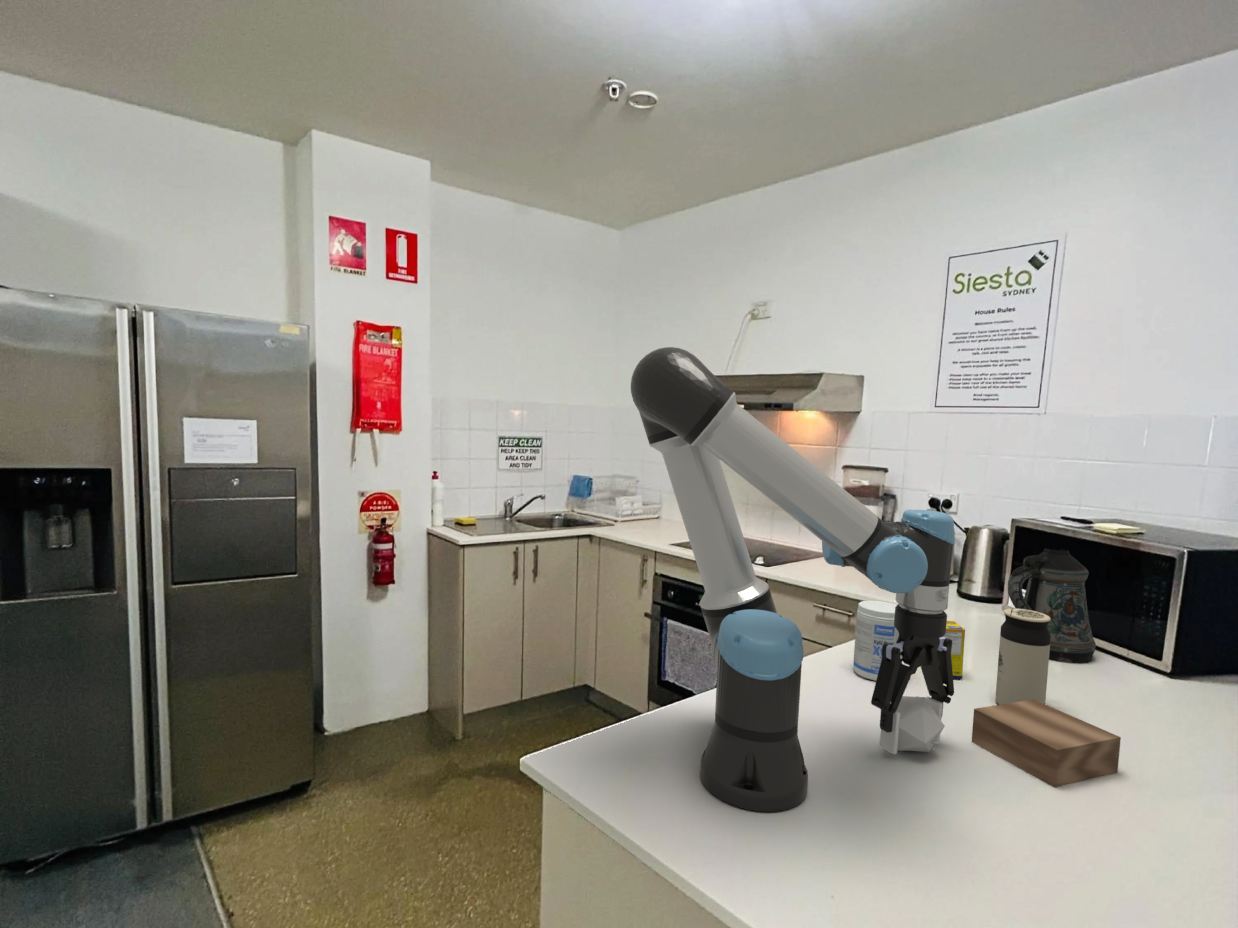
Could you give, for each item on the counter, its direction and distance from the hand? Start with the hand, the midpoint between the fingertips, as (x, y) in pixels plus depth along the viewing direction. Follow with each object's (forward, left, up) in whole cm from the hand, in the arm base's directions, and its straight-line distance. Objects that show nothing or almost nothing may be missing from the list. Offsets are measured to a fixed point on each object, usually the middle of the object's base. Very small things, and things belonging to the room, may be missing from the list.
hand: (909, 743), depth 103 cm
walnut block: (+18, -10, -1) cm, 21 cm away
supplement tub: (+21, +25, -1) cm, 33 cm away
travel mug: (+34, +3, -1) cm, 34 cm away
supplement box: (+35, +20, -1) cm, 40 cm away
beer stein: (+73, +19, -1) cm, 76 cm away
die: (0, 0, -1) cm, 1 cm away
